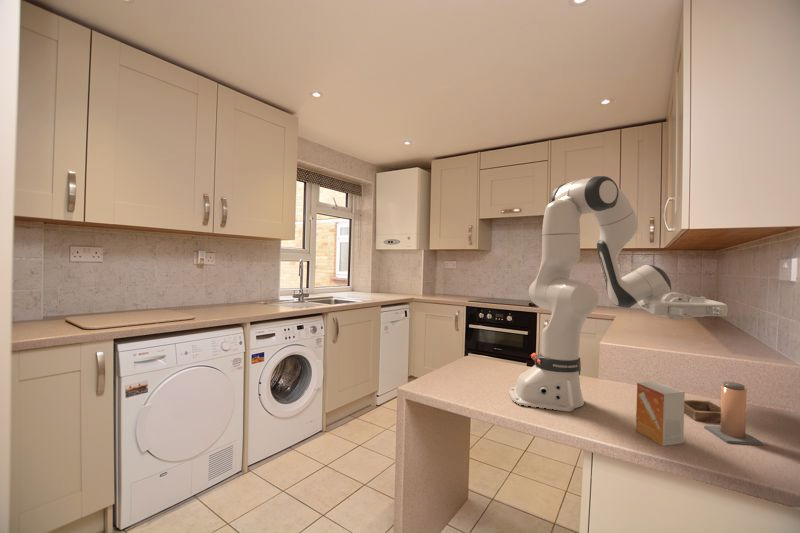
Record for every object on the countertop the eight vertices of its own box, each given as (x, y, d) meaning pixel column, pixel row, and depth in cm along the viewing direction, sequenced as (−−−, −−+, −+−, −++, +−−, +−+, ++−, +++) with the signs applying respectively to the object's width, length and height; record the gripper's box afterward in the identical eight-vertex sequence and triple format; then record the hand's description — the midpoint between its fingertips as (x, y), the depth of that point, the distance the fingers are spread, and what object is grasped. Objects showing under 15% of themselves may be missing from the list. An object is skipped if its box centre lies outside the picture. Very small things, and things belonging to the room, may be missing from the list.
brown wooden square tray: (695, 420, 103) (695, 412, 103) (675, 407, 112) (675, 399, 112) (731, 422, 102) (731, 413, 102) (708, 408, 111) (708, 400, 111)
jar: (729, 437, 92) (730, 387, 92) (715, 428, 97) (716, 380, 96) (750, 438, 91) (751, 388, 91) (735, 429, 96) (736, 381, 96)
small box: (635, 430, 97) (636, 382, 97) (655, 428, 98) (656, 380, 98) (662, 446, 89) (663, 393, 89) (684, 444, 90) (685, 391, 90)
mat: (726, 442, 91) (726, 440, 91) (704, 427, 99) (704, 425, 99) (763, 445, 90) (763, 442, 90) (737, 429, 98) (737, 427, 98)
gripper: (639, 295, 120) (663, 301, 106) (708, 296, 117) (742, 302, 104) (638, 314, 120) (663, 322, 107) (707, 316, 118) (741, 324, 104)
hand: (702, 312), depth 105 cm, fingers open, 8 cm apart
